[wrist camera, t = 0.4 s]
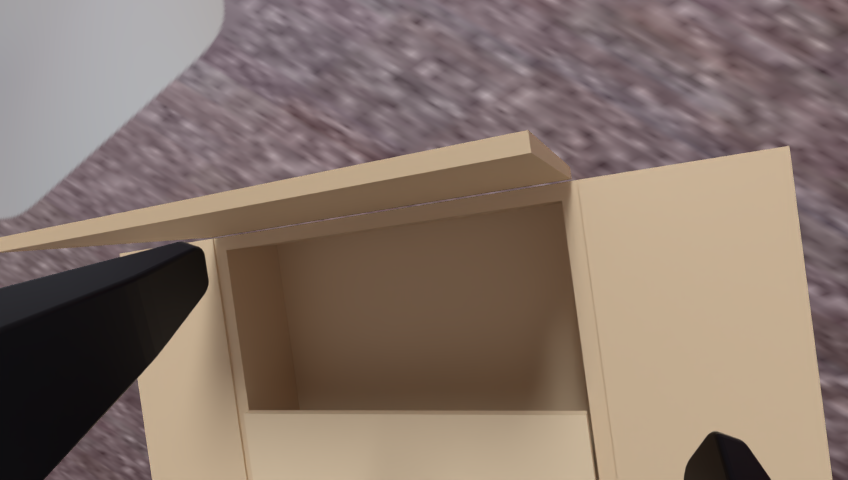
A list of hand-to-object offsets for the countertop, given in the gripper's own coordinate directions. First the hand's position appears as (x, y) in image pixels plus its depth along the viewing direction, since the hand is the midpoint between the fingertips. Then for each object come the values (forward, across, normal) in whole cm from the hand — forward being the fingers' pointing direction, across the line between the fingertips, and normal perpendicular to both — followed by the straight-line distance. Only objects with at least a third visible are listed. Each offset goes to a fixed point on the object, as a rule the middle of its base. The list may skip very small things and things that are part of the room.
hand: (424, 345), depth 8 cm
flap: (+6, +6, +2) cm, 8 cm away
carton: (+10, +2, +12) cm, 16 cm away
